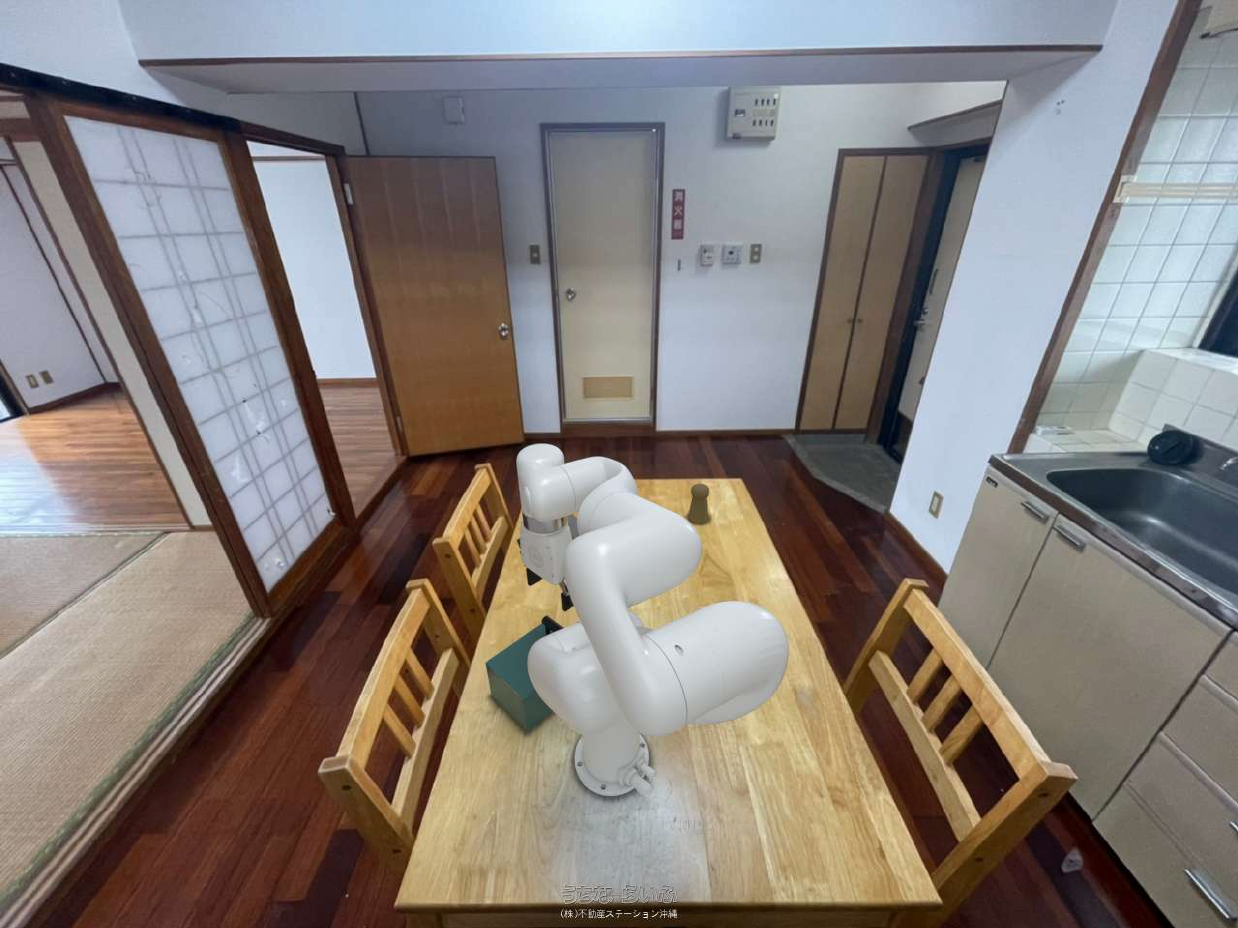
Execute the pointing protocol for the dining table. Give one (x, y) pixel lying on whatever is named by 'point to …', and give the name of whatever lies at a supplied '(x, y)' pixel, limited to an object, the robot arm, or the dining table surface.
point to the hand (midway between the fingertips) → (552, 593)
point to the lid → (520, 659)
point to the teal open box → (518, 703)
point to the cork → (699, 504)
